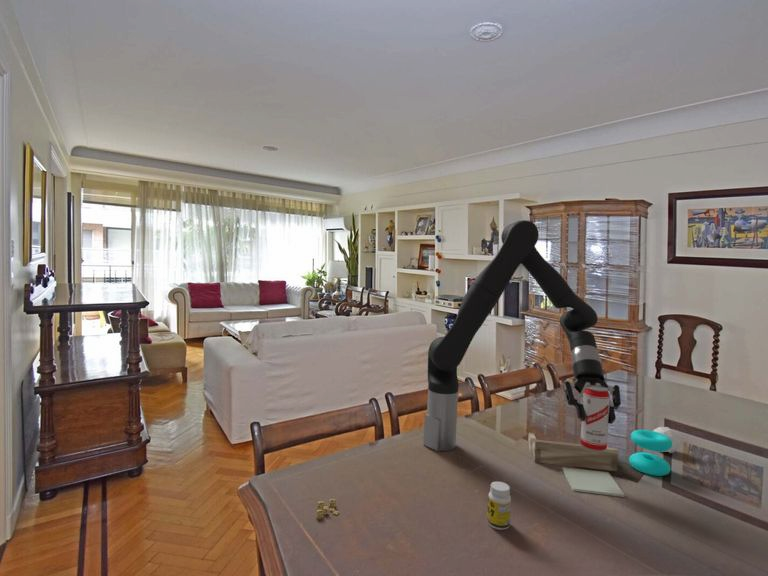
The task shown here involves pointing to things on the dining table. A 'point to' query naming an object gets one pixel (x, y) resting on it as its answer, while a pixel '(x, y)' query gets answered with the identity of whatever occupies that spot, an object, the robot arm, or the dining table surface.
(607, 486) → the sage tile
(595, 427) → the beer can
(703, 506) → the dining table surface
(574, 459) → the birch bay
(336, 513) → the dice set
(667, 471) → the donuts
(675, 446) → the geometric ball
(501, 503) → the supplement bottle
